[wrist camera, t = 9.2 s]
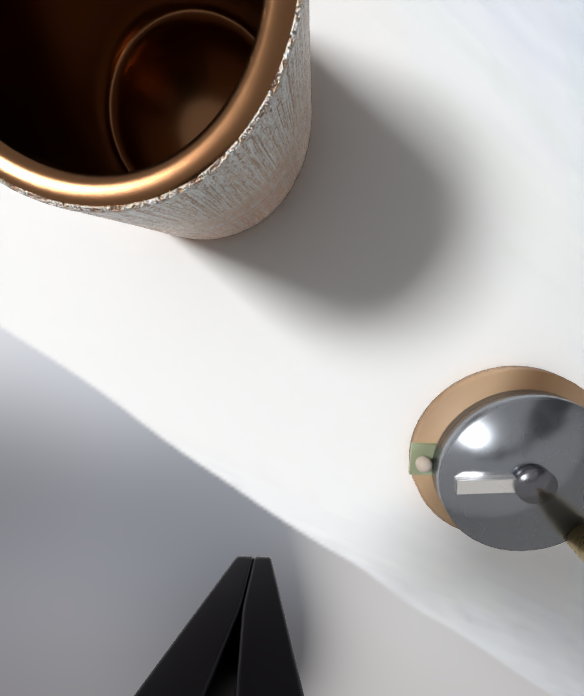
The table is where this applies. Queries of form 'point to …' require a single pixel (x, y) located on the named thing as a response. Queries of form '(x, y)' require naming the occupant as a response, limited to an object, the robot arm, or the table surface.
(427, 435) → the stand
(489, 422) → the dial
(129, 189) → the planter
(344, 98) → the table surface
